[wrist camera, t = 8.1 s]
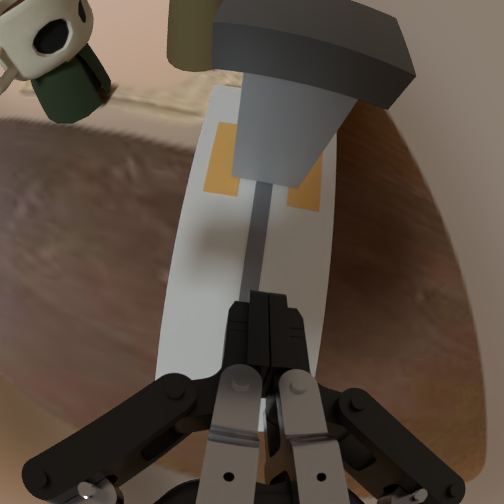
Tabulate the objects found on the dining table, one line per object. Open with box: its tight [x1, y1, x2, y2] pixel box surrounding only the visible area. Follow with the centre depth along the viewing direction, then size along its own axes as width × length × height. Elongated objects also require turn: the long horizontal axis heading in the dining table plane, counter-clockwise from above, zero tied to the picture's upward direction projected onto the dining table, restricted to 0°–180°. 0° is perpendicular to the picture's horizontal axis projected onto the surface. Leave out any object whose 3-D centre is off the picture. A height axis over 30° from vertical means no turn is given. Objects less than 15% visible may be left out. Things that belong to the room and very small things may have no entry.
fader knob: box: [212, 0, 416, 189], centre depth 12 cm, size 4×6×11 cm, turn 82°
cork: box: [167, 0, 223, 72], centre depth 16 cm, size 6×6×11 cm
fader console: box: [155, 84, 337, 431], centre depth 18 cm, size 22×9×2 cm, turn 172°
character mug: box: [0, 0, 111, 124], centre depth 13 cm, size 11×7×13 cm, turn 164°
